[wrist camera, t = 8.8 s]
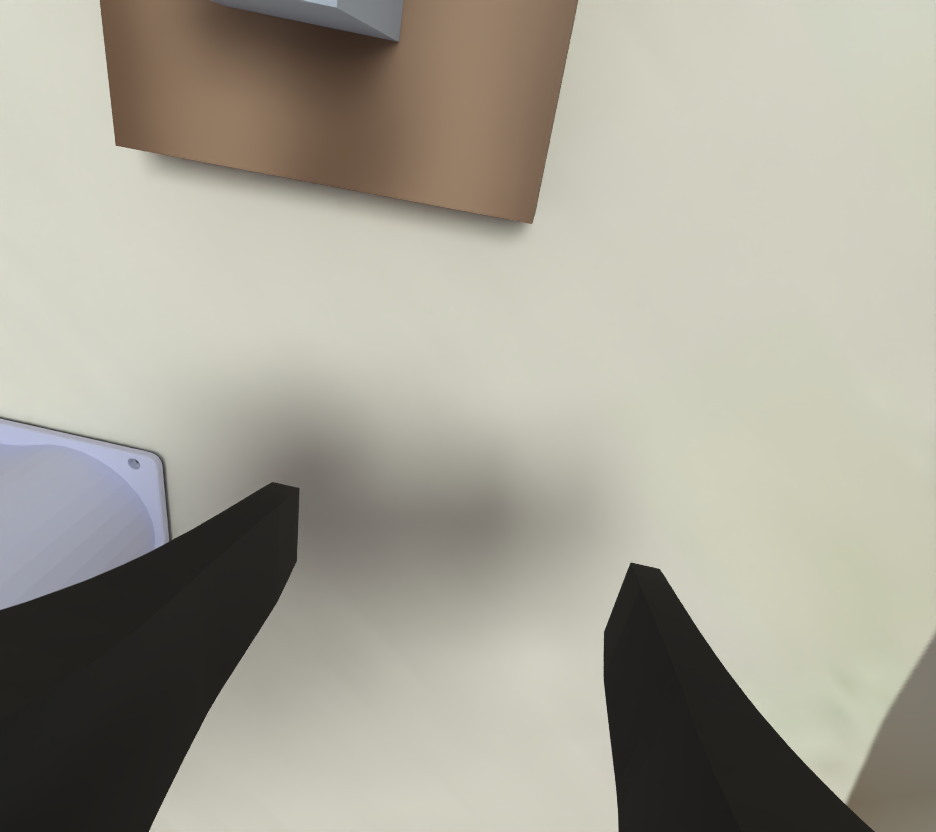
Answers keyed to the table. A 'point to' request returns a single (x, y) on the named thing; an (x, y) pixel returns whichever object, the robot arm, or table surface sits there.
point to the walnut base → (349, 96)
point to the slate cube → (333, 14)
